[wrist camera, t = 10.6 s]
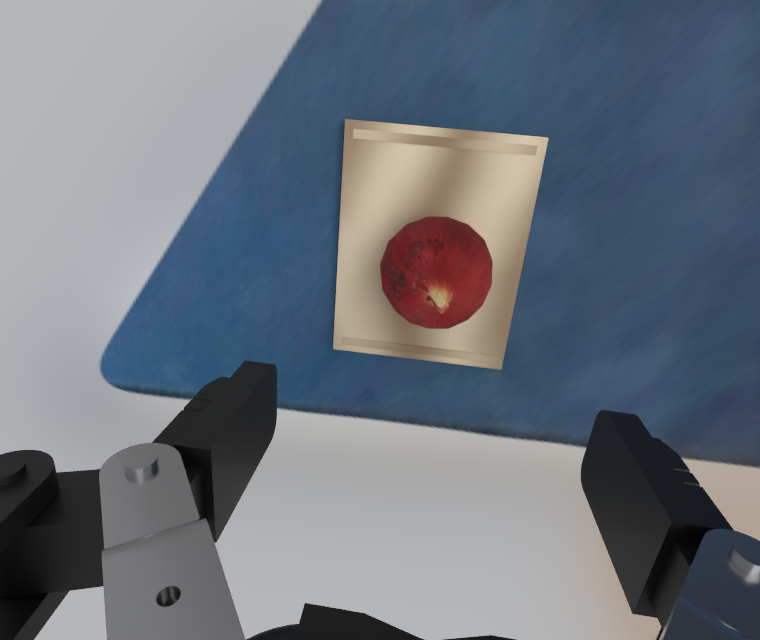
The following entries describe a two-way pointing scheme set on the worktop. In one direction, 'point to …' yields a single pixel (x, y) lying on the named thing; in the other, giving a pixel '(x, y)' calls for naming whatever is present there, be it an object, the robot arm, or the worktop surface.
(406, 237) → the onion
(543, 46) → the worktop surface
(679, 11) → the worktop surface
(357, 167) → the board
